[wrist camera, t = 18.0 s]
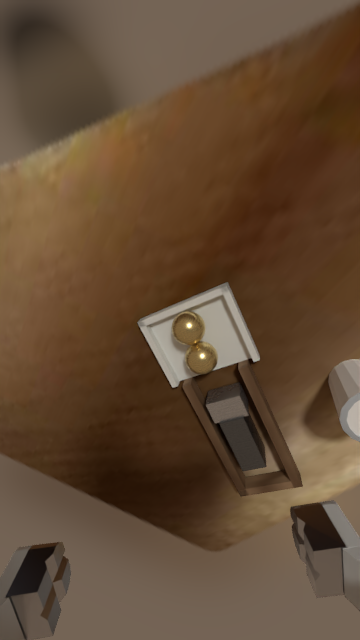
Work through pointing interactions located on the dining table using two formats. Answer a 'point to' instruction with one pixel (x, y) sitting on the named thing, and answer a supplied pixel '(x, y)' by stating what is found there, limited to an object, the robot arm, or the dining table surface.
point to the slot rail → (242, 483)
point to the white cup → (347, 395)
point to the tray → (221, 333)
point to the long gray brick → (237, 425)
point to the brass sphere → (201, 357)
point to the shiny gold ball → (188, 328)
